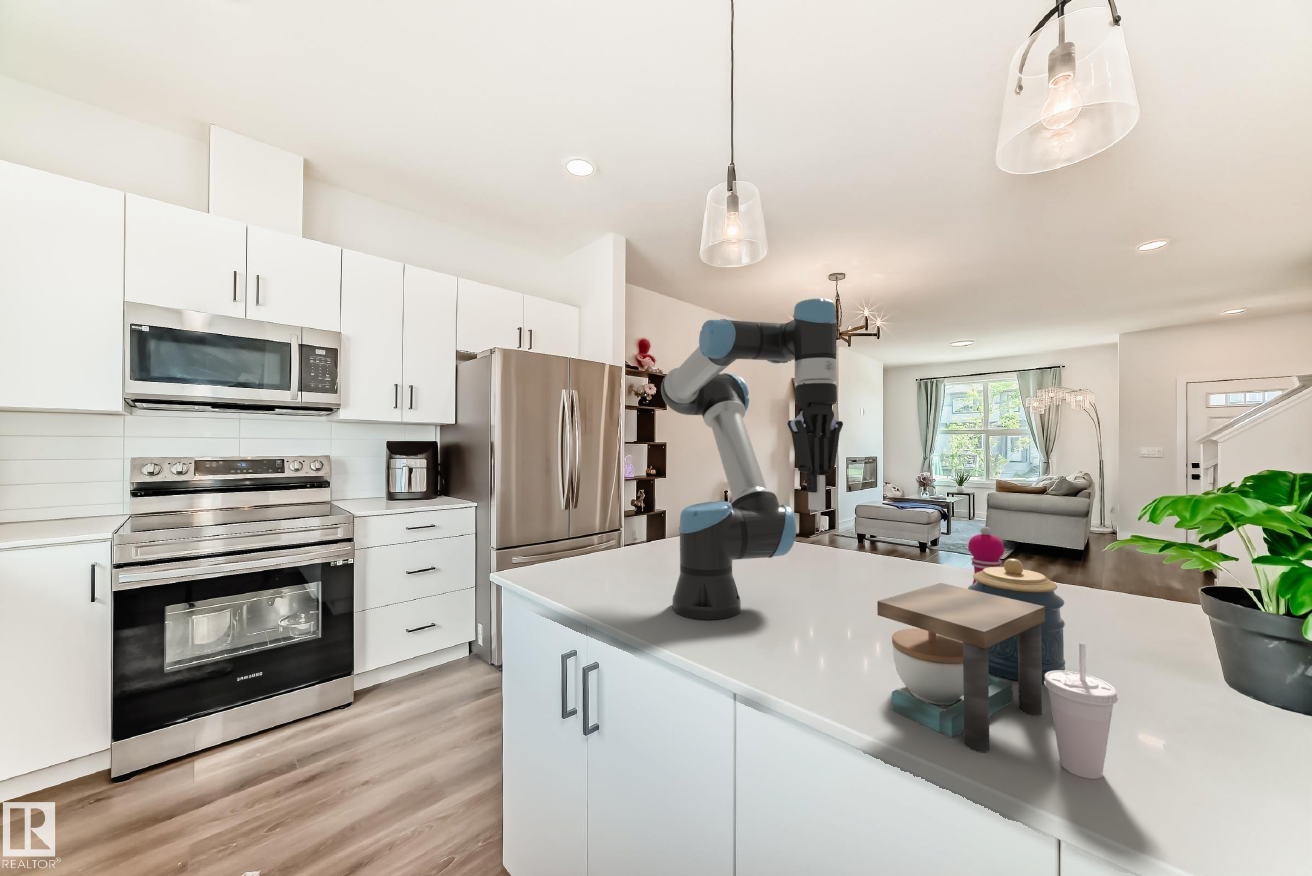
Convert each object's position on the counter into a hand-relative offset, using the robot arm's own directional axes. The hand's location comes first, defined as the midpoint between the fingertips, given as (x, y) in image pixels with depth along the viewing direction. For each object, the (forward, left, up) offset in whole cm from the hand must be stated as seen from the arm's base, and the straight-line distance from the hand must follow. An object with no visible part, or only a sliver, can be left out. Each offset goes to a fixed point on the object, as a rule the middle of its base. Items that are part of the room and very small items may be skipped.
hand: (816, 509), depth 95 cm
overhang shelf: (+27, -3, -24) cm, 37 cm away
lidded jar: (+23, -2, -25) cm, 34 cm away
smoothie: (+41, -5, -25) cm, 48 cm away
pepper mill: (+14, +33, -25) cm, 43 cm away
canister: (+25, +18, -25) cm, 39 cm away
